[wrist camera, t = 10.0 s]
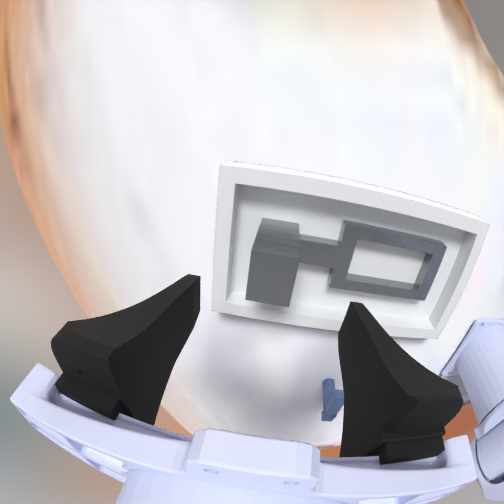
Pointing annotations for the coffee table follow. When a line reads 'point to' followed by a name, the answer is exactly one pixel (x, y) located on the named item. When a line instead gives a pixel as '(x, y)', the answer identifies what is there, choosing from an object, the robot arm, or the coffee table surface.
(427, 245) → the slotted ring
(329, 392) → the t-stake
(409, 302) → the tray
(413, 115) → the coffee table surface
